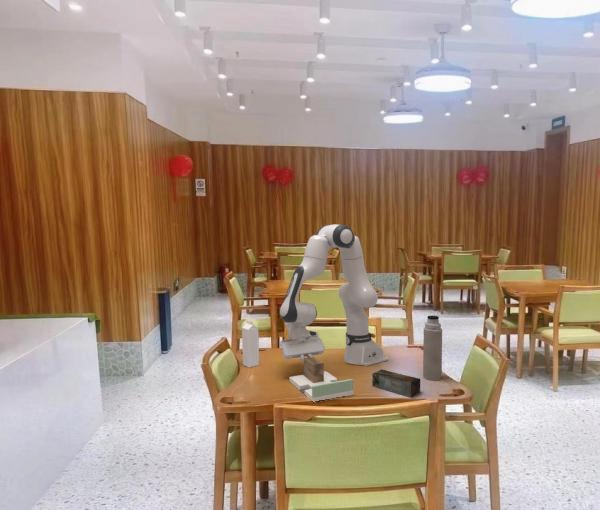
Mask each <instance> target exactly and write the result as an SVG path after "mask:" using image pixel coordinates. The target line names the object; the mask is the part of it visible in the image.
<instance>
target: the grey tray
mask: <svg viewBox="0 0 600 510" xmlns="http://www.w3.org/2000/svg"><path fill="white" fill-rule="evenodd" d="M289 382H290V383H291V384H292V385H293V386H294V387H295V388H296V389H297V390H298V391H299V392H301V393H302V394H303V395H304V396H305V395H306V396H307V397H306V396H305V397H306V398H307V399H309V398H310V399H311V400H312V401H313V402H314V403H316V402H315V401H319V400H325V399H330V400H332V399H331V398H335V399H337V398H336V397H340V398H343V397H342V396H345V397H350V396H353V395H354V379H353V378H349V379H344V380H338V378H337V377H335V376H334V375H333V374H332V373H330V372H328V371H326V370H324V381H323V382H317V383H313V382H311V381H310V380H309V379H308V378H306V377H305V376H304V374H298V375H293V376H289ZM310 399H309V400H310ZM311 400H310V401H311ZM312 401H311V402H312ZM325 401H326V400H325ZM313 402H312V403H313Z"/></svg>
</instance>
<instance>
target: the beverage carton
mask: <svg viewBox="0 0 600 510" xmlns="http://www.w3.org/2000/svg"><path fill="white" fill-rule="evenodd" d="M371 375H372V379H371V380H372V381H371V384H372V385H371V386H372V387H374V388H377V389H380V390H384V391H386V392H390V393H394V394H399V395H402V396H406V397H408V398H413V397H414V396H416V395H419V394H420V393H421V378H418V377H416V376H412V375H411V376H410V375H406V374H402V373H397V372H395V371H394V372H393V371H389V370H385V369H379V370H376V371H375V372H373V373H372V374H371Z"/></svg>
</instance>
